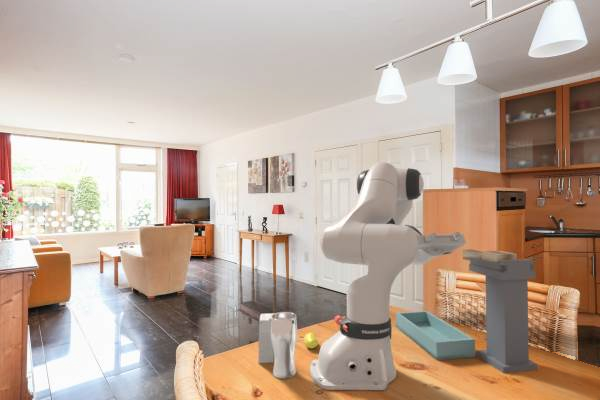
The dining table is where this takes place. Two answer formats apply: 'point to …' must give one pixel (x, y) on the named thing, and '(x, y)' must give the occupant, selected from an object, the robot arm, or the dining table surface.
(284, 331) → the beer glass
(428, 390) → the dining table surface
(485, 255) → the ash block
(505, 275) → the chute stand
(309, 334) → the lemon
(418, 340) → the teal bin
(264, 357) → the skincare box
